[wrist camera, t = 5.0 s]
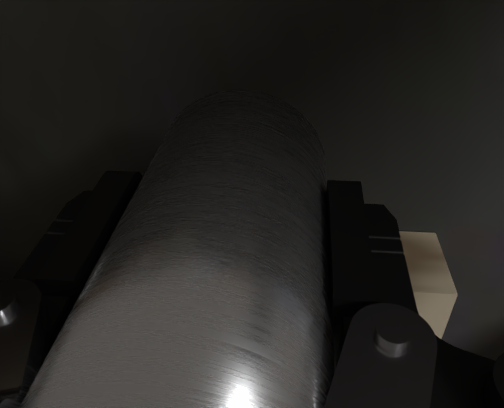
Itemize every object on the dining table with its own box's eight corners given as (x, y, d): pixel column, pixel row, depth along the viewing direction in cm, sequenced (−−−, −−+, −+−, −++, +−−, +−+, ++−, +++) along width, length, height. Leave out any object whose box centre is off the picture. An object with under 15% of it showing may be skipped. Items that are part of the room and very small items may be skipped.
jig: (435, 233, 22) (457, 294, 19) (387, 394, 31) (397, 456, 27) (77, 215, 24) (41, 269, 21) (124, 374, 32) (104, 431, 29)
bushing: (332, 92, 11) (370, 546, 4) (319, 233, 14) (327, 661, 6) (151, 88, 11) (-132, 486, 4) (173, 226, 14) (24, 618, 7)
